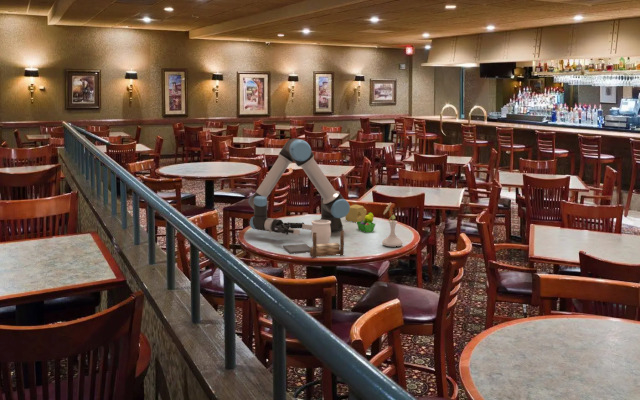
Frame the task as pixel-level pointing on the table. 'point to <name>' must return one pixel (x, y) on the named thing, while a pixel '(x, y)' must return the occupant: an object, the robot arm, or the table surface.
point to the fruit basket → (367, 223)
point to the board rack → (327, 247)
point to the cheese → (356, 213)
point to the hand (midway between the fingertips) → (306, 229)
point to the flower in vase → (392, 238)
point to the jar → (321, 231)
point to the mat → (297, 248)
